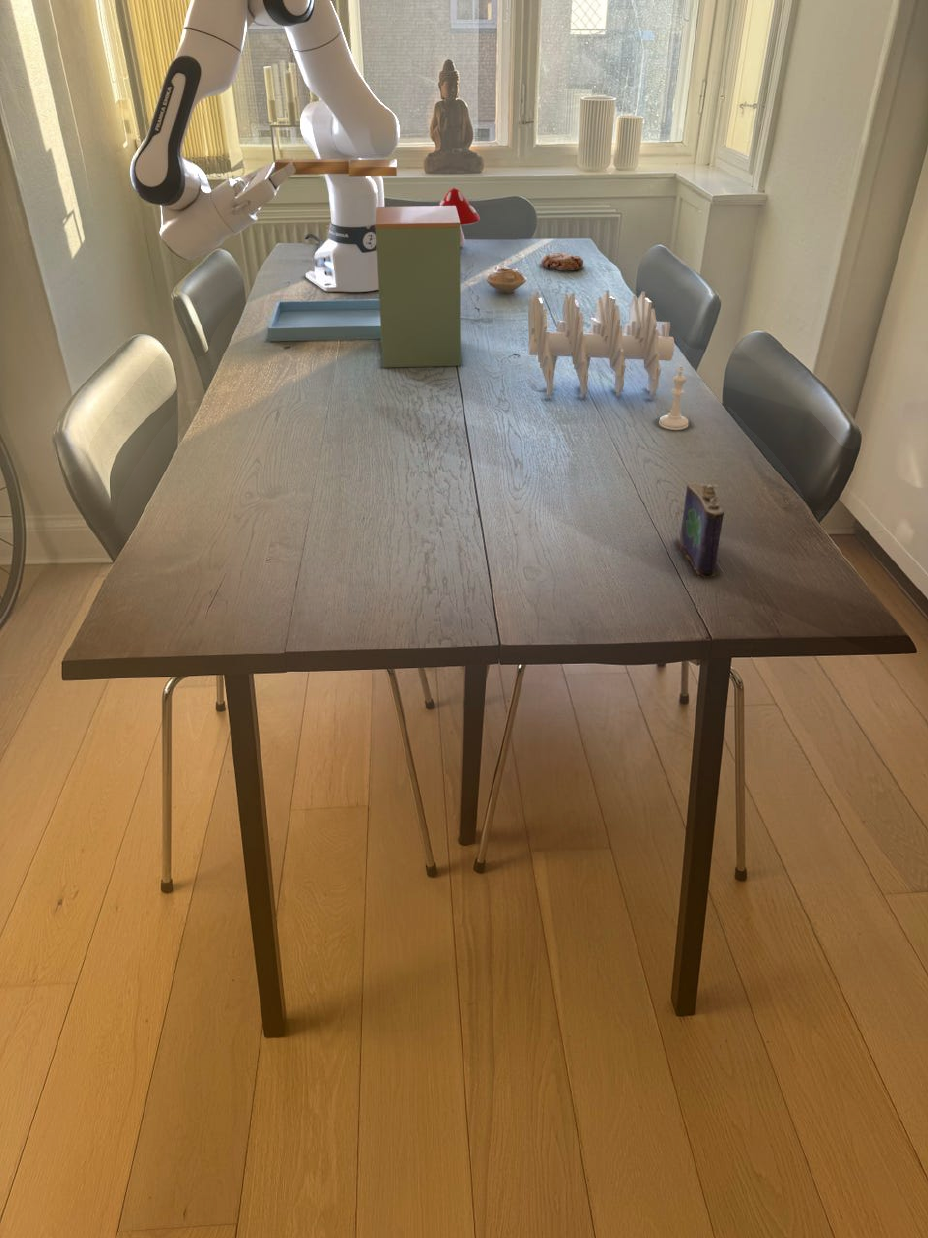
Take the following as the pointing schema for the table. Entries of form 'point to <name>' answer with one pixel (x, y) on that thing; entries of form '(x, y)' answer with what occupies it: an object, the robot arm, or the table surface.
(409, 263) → the plinth
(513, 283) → the pottery oil lamp
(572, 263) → the cookie
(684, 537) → the flask
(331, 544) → the table surface
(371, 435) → the table surface
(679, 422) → the chess piece
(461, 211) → the decorative mushroom
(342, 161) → the paddle
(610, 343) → the spiral staircase
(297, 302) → the tray
